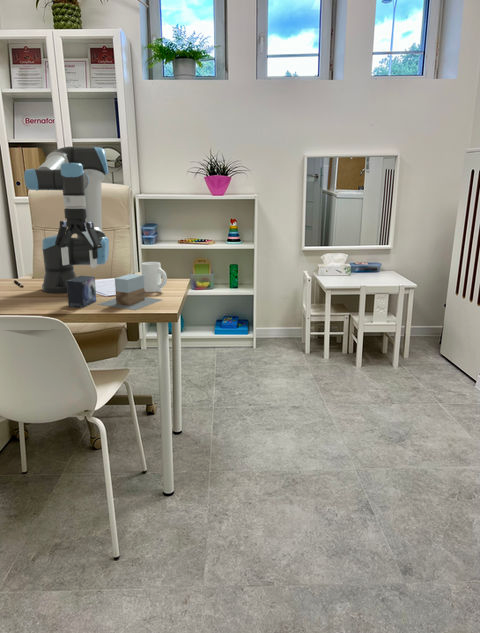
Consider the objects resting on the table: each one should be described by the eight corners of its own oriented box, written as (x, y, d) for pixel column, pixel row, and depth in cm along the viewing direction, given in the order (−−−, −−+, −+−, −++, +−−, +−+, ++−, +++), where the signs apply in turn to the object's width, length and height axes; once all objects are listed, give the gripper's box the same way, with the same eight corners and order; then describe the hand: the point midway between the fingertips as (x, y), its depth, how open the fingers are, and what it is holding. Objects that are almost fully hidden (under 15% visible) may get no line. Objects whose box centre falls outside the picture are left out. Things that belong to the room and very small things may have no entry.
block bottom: (116, 303, 184) (115, 291, 182) (132, 298, 192) (131, 286, 191) (129, 305, 181) (128, 292, 180) (144, 300, 190) (144, 287, 189)
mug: (160, 294, 200) (159, 266, 197) (138, 291, 206) (137, 263, 202) (172, 291, 207) (171, 263, 204) (150, 287, 213) (149, 261, 209)
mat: (96, 305, 183) (96, 304, 183) (126, 295, 198) (126, 294, 198) (135, 311, 175) (135, 310, 175) (163, 300, 191) (163, 299, 191)
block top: (115, 291, 182) (114, 278, 181) (131, 286, 191) (131, 273, 190) (128, 292, 180) (127, 279, 178) (144, 287, 189) (143, 275, 187)
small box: (83, 309, 177) (81, 281, 174) (67, 308, 179) (65, 280, 176) (97, 302, 187) (95, 276, 184) (82, 301, 189) (80, 275, 186)
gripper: (41, 207, 175) (47, 265, 180) (94, 209, 164) (99, 270, 170) (57, 206, 181) (62, 262, 187) (109, 208, 171) (113, 267, 177)
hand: (79, 266), depth 178 cm, fingers open, 13 cm apart
